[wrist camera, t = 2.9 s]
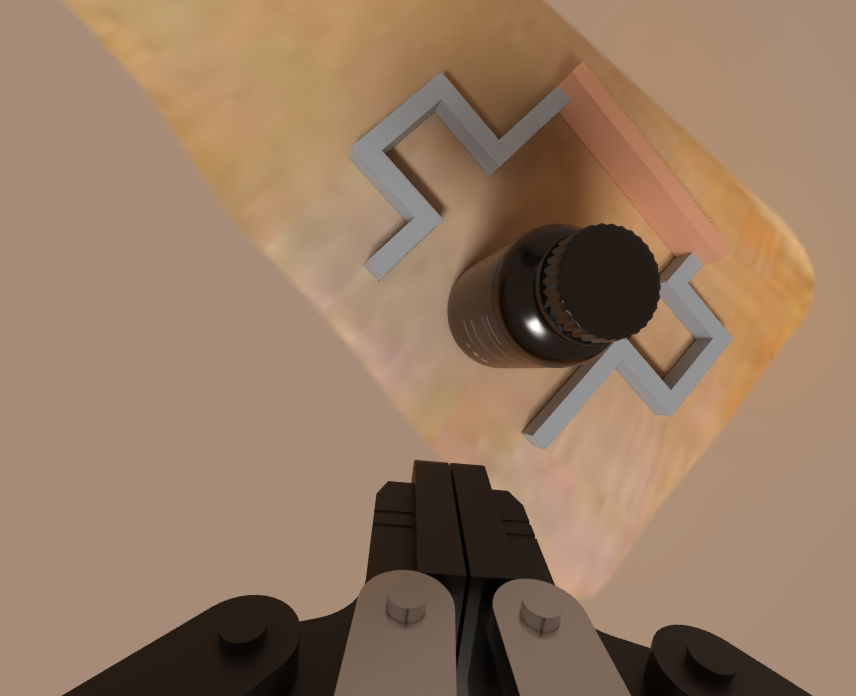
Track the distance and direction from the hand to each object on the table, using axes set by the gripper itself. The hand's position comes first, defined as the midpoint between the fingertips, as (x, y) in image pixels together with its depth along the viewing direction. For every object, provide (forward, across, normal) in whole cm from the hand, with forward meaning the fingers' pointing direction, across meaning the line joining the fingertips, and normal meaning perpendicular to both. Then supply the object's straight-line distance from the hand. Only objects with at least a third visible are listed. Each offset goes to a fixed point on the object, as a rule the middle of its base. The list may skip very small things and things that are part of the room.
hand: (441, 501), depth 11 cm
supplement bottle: (+21, -5, -1) cm, 22 cm away
